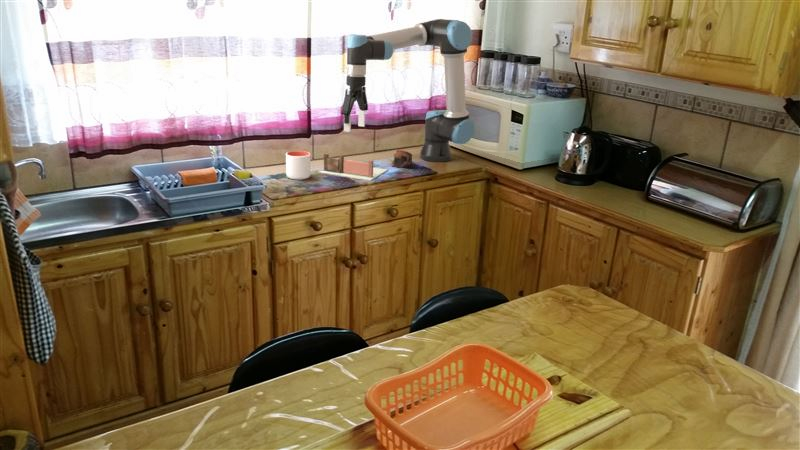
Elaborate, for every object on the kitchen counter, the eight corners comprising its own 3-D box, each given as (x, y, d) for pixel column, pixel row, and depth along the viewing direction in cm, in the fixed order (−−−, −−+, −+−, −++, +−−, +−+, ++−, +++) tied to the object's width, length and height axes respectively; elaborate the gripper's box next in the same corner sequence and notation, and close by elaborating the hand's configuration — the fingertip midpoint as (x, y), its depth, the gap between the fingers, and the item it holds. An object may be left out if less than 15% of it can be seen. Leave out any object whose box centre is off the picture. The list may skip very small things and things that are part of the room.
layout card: (387, 170, 283) (387, 169, 282) (370, 180, 266) (370, 179, 266) (337, 163, 291) (337, 162, 290) (318, 172, 274) (318, 171, 274)
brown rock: (386, 165, 292) (391, 149, 293) (402, 173, 297) (407, 156, 298) (400, 165, 282) (405, 147, 283) (416, 173, 287) (422, 156, 288)
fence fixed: (344, 173, 275) (344, 156, 272) (342, 174, 273) (342, 157, 271) (325, 170, 278) (325, 153, 275) (323, 171, 276) (323, 154, 274)
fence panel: (343, 172, 273) (343, 157, 271) (344, 171, 274) (345, 156, 272) (371, 176, 269) (372, 161, 266) (373, 175, 270) (373, 160, 268)
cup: (308, 173, 272) (307, 150, 269) (312, 179, 263) (312, 156, 260) (284, 174, 269) (284, 151, 266) (288, 181, 260) (288, 157, 257)
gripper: (360, 72, 264) (358, 123, 271) (333, 77, 242) (332, 132, 249) (377, 73, 262) (375, 125, 269) (351, 79, 240) (349, 135, 247)
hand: (354, 128), depth 259 cm, fingers open, 13 cm apart
